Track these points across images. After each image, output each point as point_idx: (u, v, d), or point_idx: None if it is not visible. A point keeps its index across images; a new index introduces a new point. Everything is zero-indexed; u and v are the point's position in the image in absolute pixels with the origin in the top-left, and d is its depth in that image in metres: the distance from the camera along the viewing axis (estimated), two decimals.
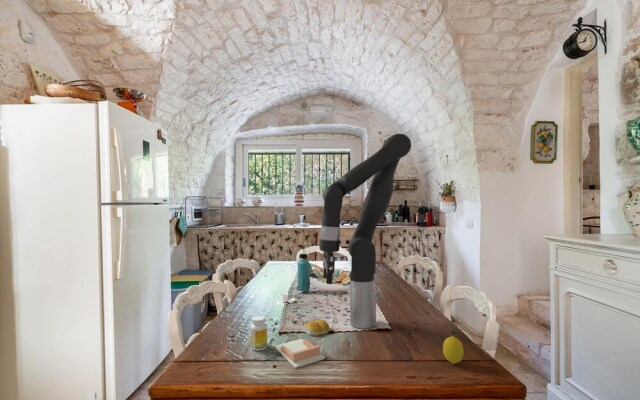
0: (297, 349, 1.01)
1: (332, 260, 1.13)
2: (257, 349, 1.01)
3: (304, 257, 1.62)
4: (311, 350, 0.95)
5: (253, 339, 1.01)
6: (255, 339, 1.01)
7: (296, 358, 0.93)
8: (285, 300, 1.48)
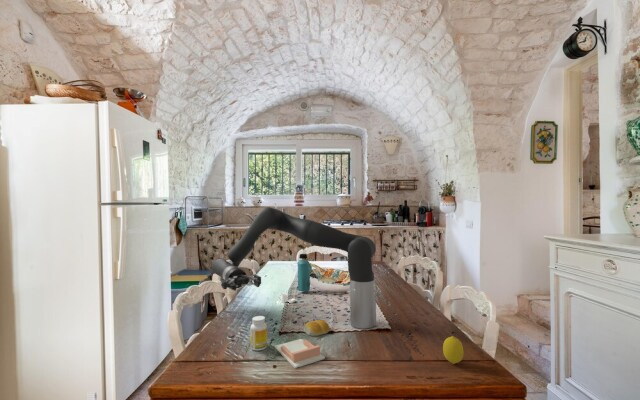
0: (297, 349, 1.01)
1: (221, 282, 1.17)
2: (257, 349, 1.01)
3: (304, 257, 1.62)
4: (311, 350, 0.95)
5: (253, 339, 1.01)
6: (255, 339, 1.01)
7: (296, 358, 0.93)
8: (285, 300, 1.48)
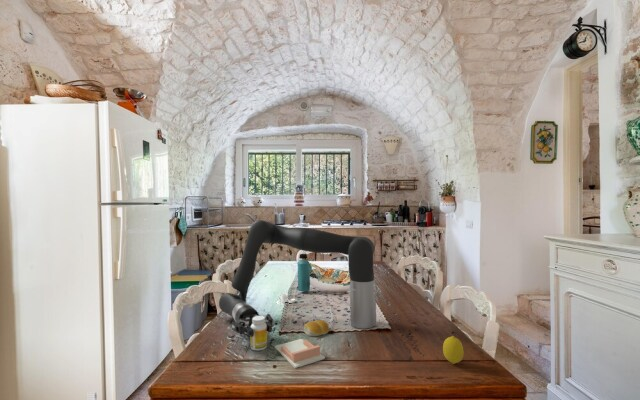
0: (297, 349, 1.01)
1: (233, 325, 1.05)
2: (257, 349, 1.01)
3: (304, 257, 1.62)
4: (311, 350, 0.95)
5: (253, 339, 1.01)
6: (255, 339, 1.01)
7: (296, 358, 0.93)
8: (285, 300, 1.47)
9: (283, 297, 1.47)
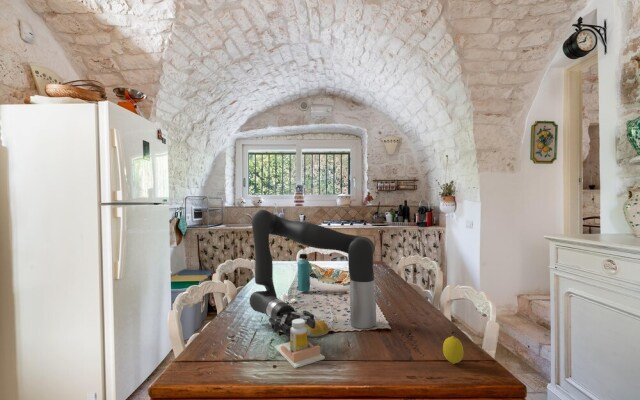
0: None
1: (269, 322, 1.01)
2: None
3: (304, 257, 1.62)
4: (311, 350, 0.95)
5: (294, 343, 0.97)
6: (296, 343, 0.96)
7: (296, 358, 0.93)
8: (285, 300, 1.47)
9: (283, 297, 1.47)
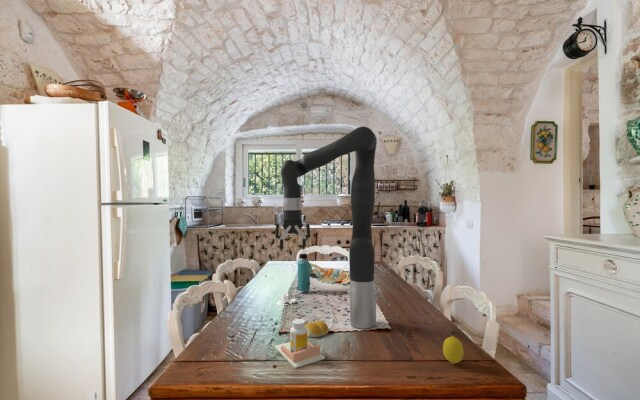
0: None
1: None
2: None
3: (304, 257, 1.62)
4: (311, 350, 0.95)
5: (294, 343, 0.96)
6: (296, 343, 0.96)
7: (296, 358, 0.93)
8: (286, 301, 1.47)
9: (283, 297, 1.46)
